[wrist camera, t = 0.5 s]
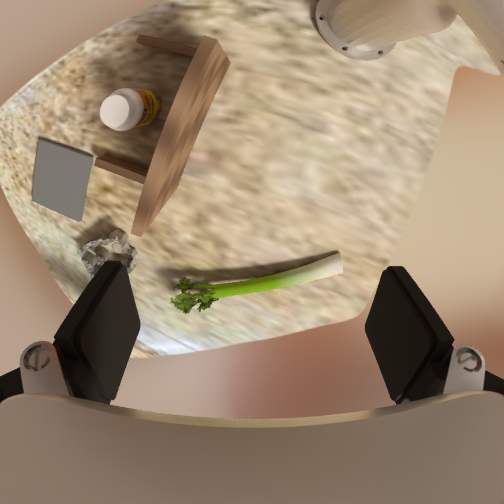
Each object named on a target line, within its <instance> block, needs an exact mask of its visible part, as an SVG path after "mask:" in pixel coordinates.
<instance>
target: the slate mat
mask: <svg viewBox="0 0 504 504" xmlns="http://www.w3.org/2000/svg"><path fill="white" fill-rule="evenodd" d="M93 157H94V156H92V155H89V154H86V153H83V152H80V151H78V150H75V149H72V148H69V147H66V146H63V145H60V144H57V143H54V142H51V141H48V140H46V139H43V138H42V139H39V143H38V149H37V155H36V163H35V171H34V180H33V191H32V201H34V202H36V203H38V204H40V205H43V206H45V207H47V208H49V209H51V210H54V211H56V212H58V213H60V214H63V215H65V216H67V217H69V218H72V219H74V220H76V221H81V220H82V215H83V208H84V202H85V196H86V191H87V185H88V180H89V175H90V170H91V166H92V161H93Z"/></svg>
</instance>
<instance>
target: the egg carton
mask: <svg viewBox="0 0 504 504" xmlns="http://www.w3.org/2000/svg"><path fill="white" fill-rule="evenodd" d="M127 238H128V234H127V233H126V232H121V231H120V230H119V229H116V230H114V231H112V233H111V234H110V235H109V238H107V237H106V236H105V235H103V236H101V237H100V238H98V239H97V240H96V241H89V242H88V243H87V244H86V245H84V246H83V247H81V248H80V250H78V254H80V255H81V257H82V262H83V263H84V264H85V267H86V268H87V271H88V273H90V274H91V278H93V277H94V275H95V274H96V273H97V271H98V270H99V269H100V268H98V267H97V265H96V264H98V265H99V266H102V264H103V263H104V262H105V261H107V260H108V258H109V256H110V253H109V251H108V250H107V249H105V248H101V249H100V250H99V251H98V253H97V254H96V255H94V254H89V253H88V251H87V248H88V249H90V250H95V248H96V247H97V246H98V245H101V244H102V245H108V243H110V242H113V241H118V242H120V243H114V244H113V245H112V249H113V251H114V252H115V253H117V254H121V253H122V252H123V251H124V252H125V253H127V254H130V255H132V257H133V260H132V261H131V260H130V259H128V258H123V259H122V260H121V263H122V265H125V266H126V268H127V272H128V273H130V272H131V271H132V270H133V269H134V268H135V266H136V262H135V261H136V259H135V256H136V255H137V251H136V249H135V248H130V247H129V244H128V243H126V240H127ZM121 244H122V245H121Z"/></svg>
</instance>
